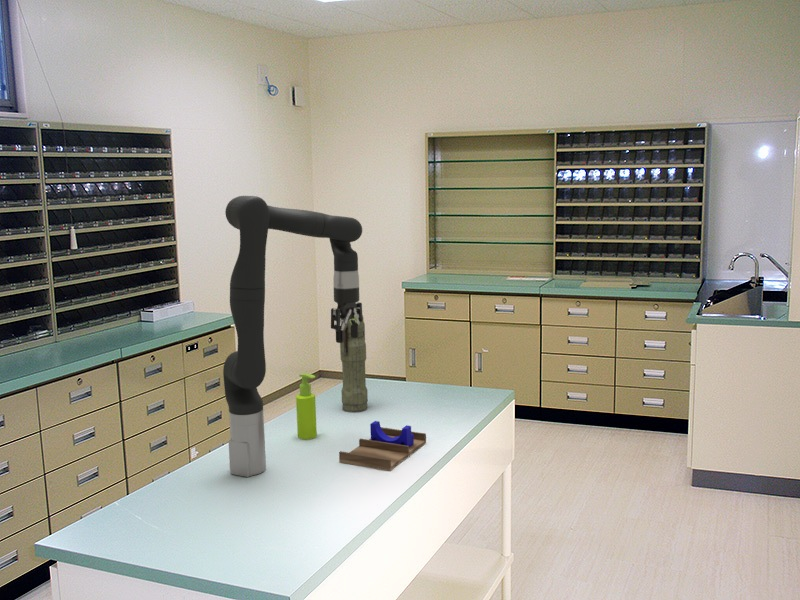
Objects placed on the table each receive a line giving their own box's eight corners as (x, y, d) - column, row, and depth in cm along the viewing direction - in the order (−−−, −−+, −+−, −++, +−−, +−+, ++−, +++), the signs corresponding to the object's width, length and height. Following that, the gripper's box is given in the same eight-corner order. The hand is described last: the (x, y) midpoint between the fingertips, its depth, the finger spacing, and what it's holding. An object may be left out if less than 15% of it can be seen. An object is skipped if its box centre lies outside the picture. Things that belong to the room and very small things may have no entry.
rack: (389, 470, 214) (389, 460, 213) (339, 462, 221) (339, 452, 220) (426, 443, 235) (425, 433, 235) (378, 436, 242) (378, 426, 242)
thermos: (334, 411, 268) (331, 311, 262) (352, 402, 278) (349, 305, 272) (357, 415, 264) (354, 312, 258) (374, 405, 274) (371, 307, 268)
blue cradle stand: (413, 443, 232) (413, 424, 231) (407, 448, 228) (406, 429, 227) (377, 438, 237) (377, 419, 236) (370, 443, 233) (370, 423, 232)
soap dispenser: (310, 441, 239) (307, 377, 235) (293, 437, 243) (291, 374, 240) (323, 436, 243) (320, 373, 240) (307, 432, 247) (304, 370, 244)
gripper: (344, 289, 221) (345, 345, 223) (369, 283, 233) (370, 336, 236) (322, 288, 224) (323, 343, 227) (347, 282, 237) (348, 334, 239)
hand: (347, 340), depth 231 cm, fingers open, 8 cm apart
